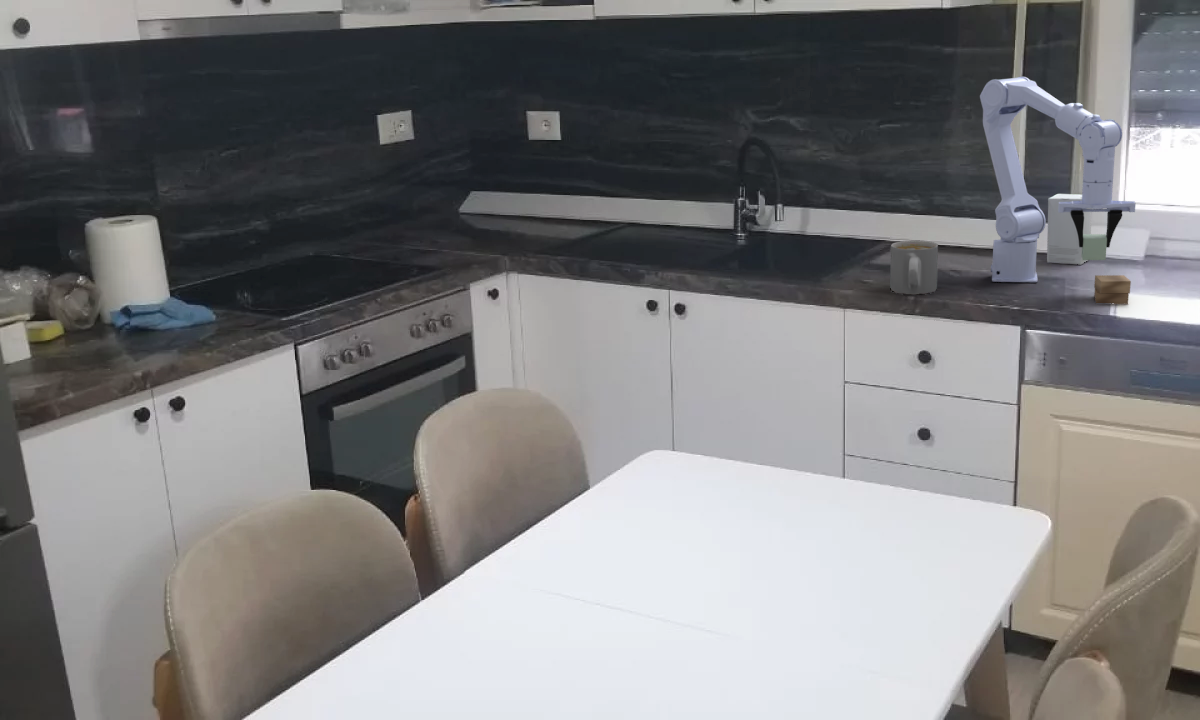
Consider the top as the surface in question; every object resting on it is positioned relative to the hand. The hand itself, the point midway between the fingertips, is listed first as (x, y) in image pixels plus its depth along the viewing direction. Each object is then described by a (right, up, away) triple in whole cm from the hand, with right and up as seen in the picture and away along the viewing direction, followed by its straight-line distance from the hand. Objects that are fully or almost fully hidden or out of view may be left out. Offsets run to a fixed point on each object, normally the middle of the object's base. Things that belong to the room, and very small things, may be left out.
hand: (1094, 246), depth 244 cm
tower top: (+2, -9, -4) cm, 10 cm away
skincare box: (+7, -1, +32) cm, 33 cm away
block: (0, -2, +1) cm, 2 cm away
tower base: (+2, -12, -3) cm, 12 cm away
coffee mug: (-34, -9, +13) cm, 38 cm away
